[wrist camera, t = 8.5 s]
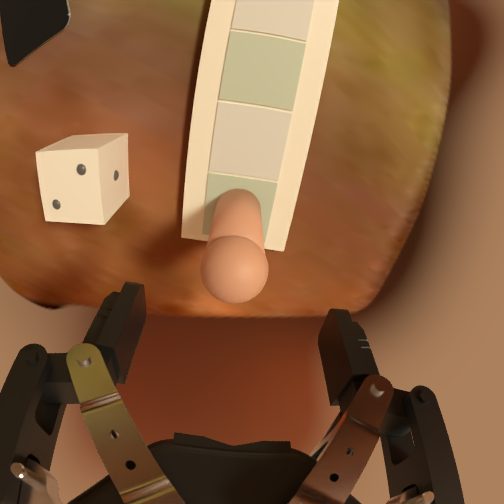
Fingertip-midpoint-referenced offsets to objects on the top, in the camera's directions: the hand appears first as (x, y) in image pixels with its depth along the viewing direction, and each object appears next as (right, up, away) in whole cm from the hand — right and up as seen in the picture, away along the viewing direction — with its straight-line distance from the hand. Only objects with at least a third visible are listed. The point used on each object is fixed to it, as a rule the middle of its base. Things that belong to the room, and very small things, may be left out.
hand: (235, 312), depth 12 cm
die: (-11, +9, +8) cm, 16 cm away
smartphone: (-18, +25, -2) cm, 31 cm away
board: (+1, +15, +4) cm, 15 cm away
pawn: (0, +6, +9) cm, 11 cm away
